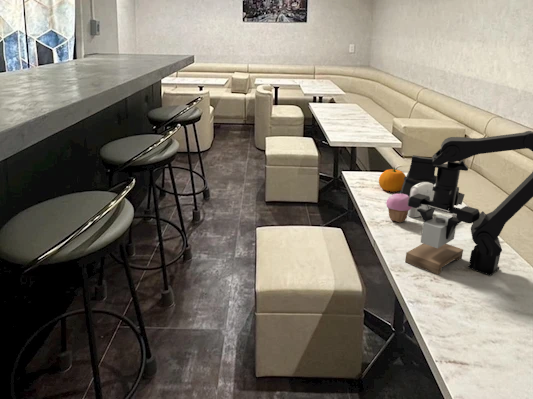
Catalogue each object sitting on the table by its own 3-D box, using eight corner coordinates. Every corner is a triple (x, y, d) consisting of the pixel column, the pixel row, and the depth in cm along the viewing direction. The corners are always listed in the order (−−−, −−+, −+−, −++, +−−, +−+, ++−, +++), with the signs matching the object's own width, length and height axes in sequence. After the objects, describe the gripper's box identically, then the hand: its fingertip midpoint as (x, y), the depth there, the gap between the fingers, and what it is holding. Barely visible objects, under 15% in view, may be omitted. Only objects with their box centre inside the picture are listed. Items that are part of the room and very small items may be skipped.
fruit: (376, 191, 197) (379, 169, 194) (379, 184, 208) (381, 162, 204) (405, 195, 194) (408, 172, 190) (406, 187, 204) (409, 165, 201)
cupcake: (413, 220, 167) (417, 193, 164) (405, 227, 160) (409, 199, 157) (389, 214, 172) (392, 188, 168) (380, 221, 165) (383, 194, 162)
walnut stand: (461, 258, 138) (463, 249, 137) (437, 274, 128) (439, 264, 127) (430, 247, 145) (431, 238, 144) (405, 262, 135) (406, 252, 134)
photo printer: (423, 210, 177) (428, 179, 173) (432, 214, 174) (437, 182, 170) (404, 215, 172) (409, 183, 168) (414, 219, 168) (419, 186, 164)
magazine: (391, 194, 189) (412, 163, 184) (420, 209, 189) (441, 179, 184) (392, 197, 186) (414, 165, 180) (421, 213, 186) (443, 181, 181)
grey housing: (437, 248, 129) (441, 226, 127) (420, 242, 133) (423, 220, 131) (453, 238, 136) (457, 217, 134) (436, 233, 140) (440, 212, 137)
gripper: (492, 186, 128) (482, 238, 133) (429, 171, 141) (421, 220, 146) (475, 194, 121) (465, 249, 126) (410, 178, 133) (403, 228, 138)
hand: (438, 235), depth 134 cm, fingers closed on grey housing, 5 cm apart
